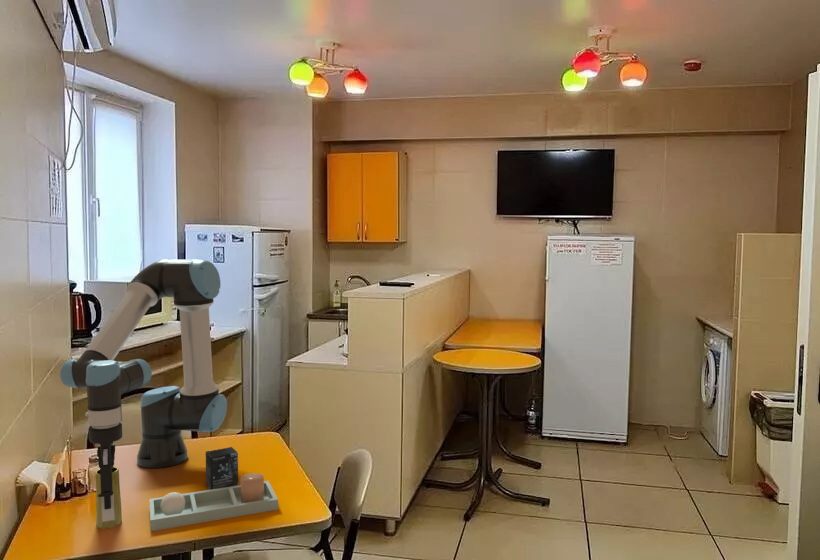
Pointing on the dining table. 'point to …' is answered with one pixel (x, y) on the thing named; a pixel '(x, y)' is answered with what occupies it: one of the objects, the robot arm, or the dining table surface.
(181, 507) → the ball
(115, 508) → the vase
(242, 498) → the pink pillar candle
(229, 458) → the box
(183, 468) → the dining table surface
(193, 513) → the tray
